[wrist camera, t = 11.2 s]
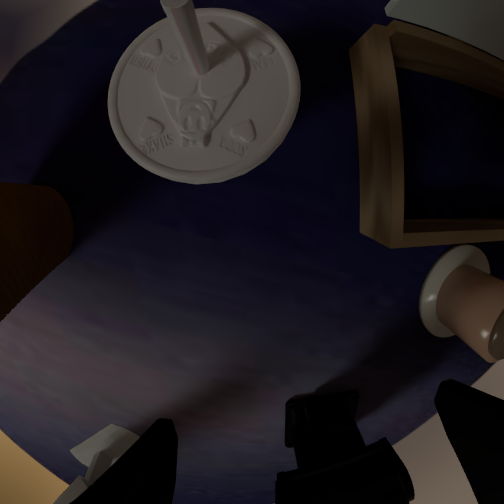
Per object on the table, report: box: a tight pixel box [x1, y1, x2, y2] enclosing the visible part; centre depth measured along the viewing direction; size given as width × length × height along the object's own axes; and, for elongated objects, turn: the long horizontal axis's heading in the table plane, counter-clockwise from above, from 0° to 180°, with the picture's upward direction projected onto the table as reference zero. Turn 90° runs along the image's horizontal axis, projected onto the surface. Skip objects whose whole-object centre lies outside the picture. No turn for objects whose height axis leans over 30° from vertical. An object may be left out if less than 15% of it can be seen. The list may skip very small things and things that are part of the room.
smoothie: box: [108, 0, 300, 184], centre depth 11 cm, size 6×6×14 cm
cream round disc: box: [419, 244, 490, 337], centre depth 21 cm, size 8×8×1 cm
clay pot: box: [436, 265, 504, 363], centre depth 16 cm, size 6×6×9 cm
